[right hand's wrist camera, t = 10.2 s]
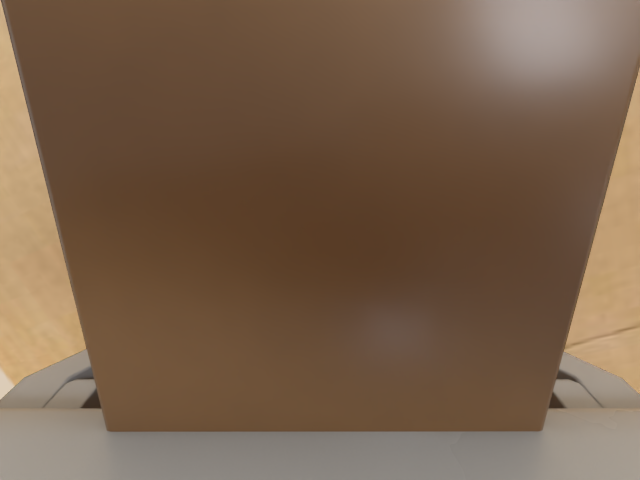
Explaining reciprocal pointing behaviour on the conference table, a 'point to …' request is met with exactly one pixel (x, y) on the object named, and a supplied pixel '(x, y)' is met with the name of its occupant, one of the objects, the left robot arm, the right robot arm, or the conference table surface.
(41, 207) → the conference table surface
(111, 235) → the post
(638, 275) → the conference table surface
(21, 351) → the conference table surface
